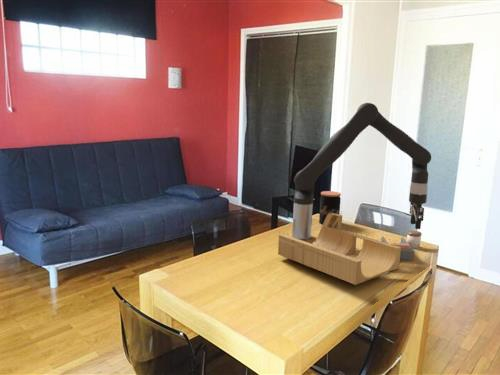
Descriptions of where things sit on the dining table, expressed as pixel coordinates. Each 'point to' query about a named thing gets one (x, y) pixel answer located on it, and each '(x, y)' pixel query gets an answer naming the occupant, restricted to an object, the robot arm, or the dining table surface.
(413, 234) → the jar
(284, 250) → the skate ramp
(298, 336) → the dining table surface
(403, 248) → the pusher
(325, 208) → the coffee jar
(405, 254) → the grey tray
